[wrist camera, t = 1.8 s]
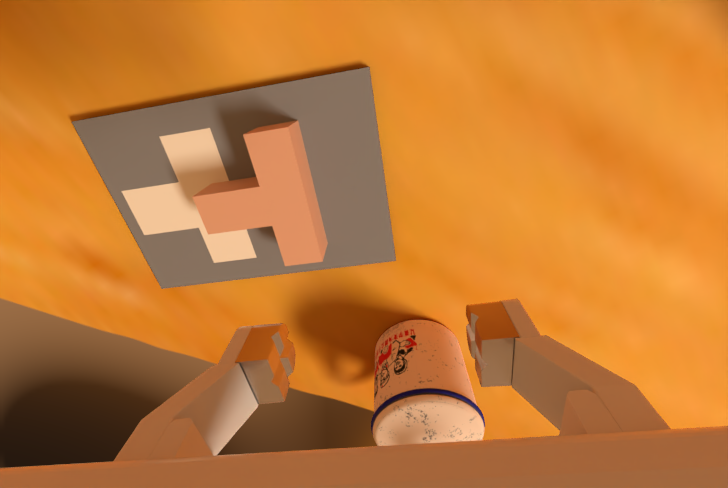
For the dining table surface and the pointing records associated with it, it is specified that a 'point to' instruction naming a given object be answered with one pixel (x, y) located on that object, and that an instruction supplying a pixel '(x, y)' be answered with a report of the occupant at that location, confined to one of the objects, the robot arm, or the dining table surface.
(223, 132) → the t mat
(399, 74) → the dining table surface
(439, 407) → the teacup with lid
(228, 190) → the t block
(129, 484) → the robot arm
